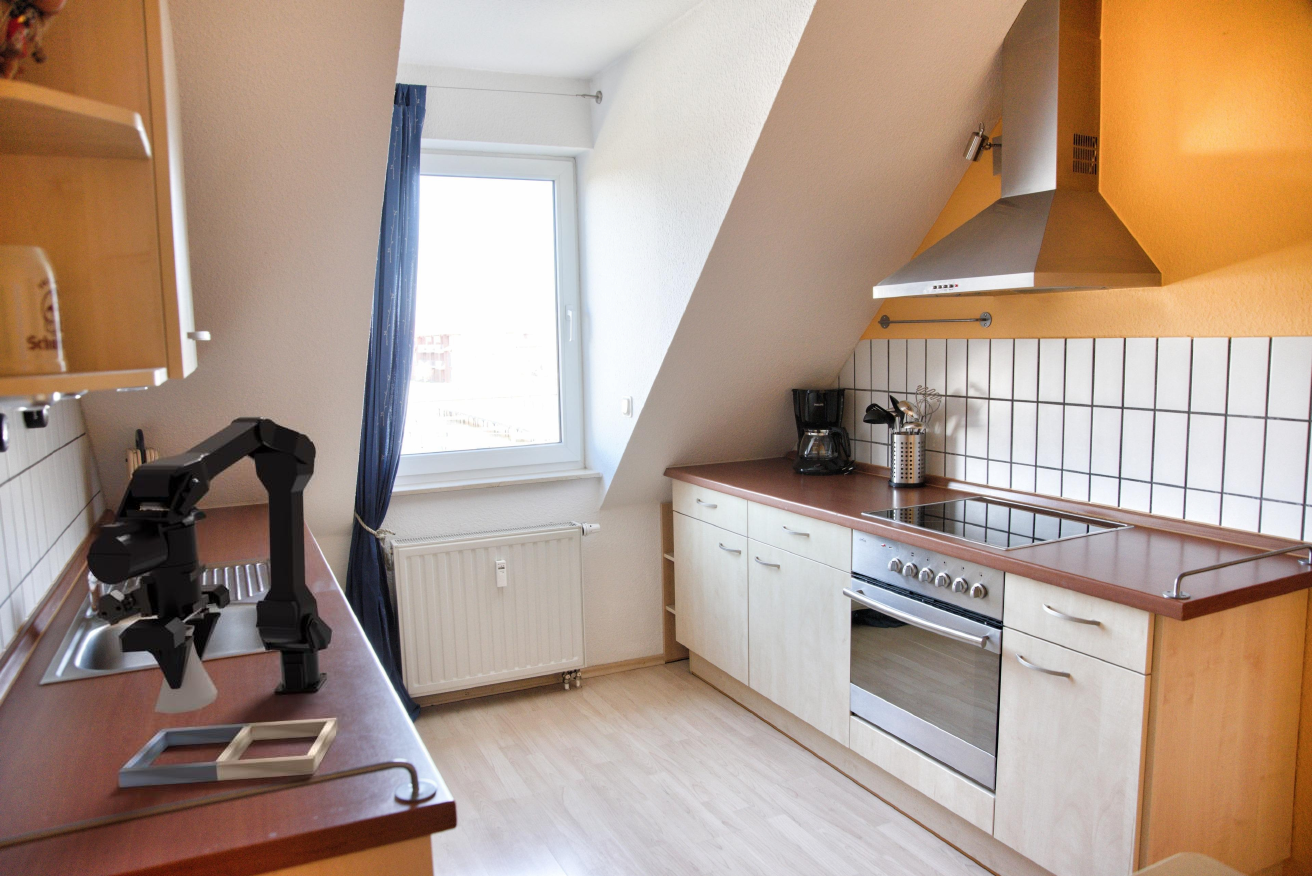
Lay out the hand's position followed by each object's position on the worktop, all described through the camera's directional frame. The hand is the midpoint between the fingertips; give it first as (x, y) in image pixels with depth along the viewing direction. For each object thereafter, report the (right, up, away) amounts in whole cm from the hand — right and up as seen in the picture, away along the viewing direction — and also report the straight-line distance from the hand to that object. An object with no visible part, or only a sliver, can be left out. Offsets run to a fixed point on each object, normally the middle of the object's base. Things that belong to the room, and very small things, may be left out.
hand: (184, 680), depth 114 cm
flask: (0, -3, 0) cm, 3 cm away
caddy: (+6, -11, +2) cm, 12 cm away
